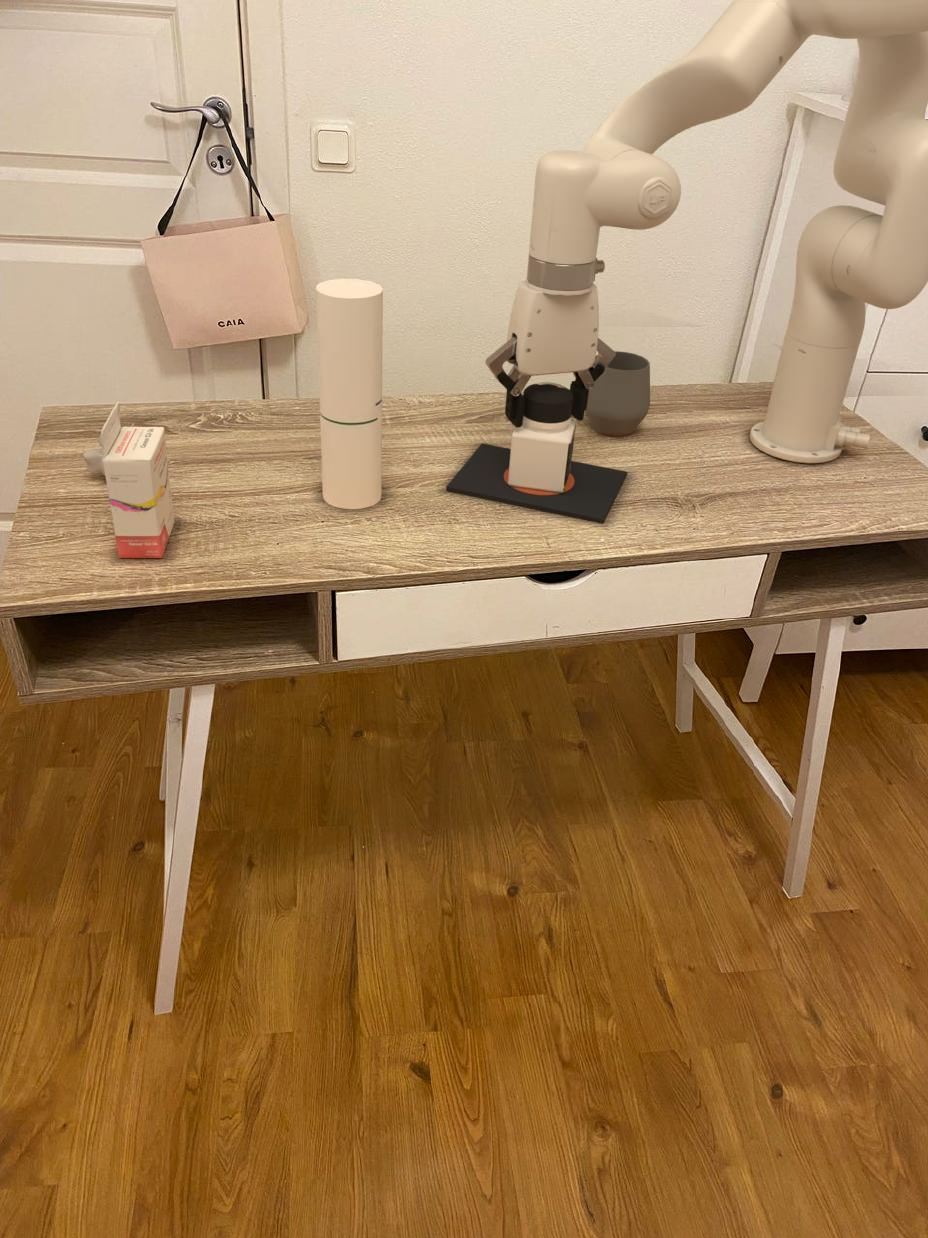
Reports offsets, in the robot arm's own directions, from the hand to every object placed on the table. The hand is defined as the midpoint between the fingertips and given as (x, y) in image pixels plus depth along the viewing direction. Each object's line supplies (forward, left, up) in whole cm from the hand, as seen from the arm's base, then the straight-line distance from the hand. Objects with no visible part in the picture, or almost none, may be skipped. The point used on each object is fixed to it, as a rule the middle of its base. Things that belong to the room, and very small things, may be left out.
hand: (545, 418), depth 122 cm
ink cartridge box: (+36, +32, -9) cm, 49 cm away
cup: (-5, -21, -9) cm, 23 cm away
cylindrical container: (+20, +13, -9) cm, 26 cm away
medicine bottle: (0, 0, -8) cm, 8 cm away
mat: (0, 0, -9) cm, 9 cm away
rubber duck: (+48, +21, -9) cm, 53 cm away
